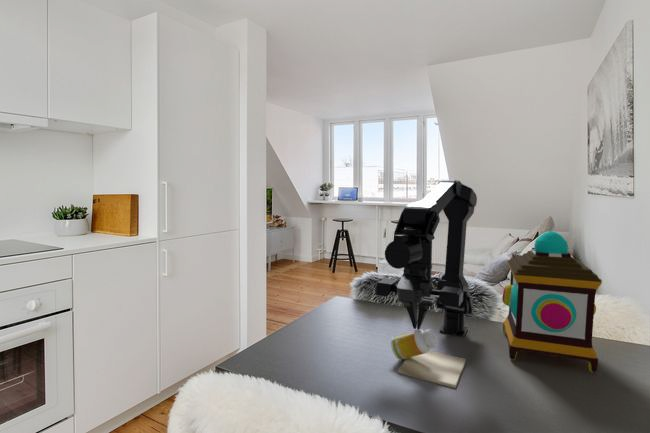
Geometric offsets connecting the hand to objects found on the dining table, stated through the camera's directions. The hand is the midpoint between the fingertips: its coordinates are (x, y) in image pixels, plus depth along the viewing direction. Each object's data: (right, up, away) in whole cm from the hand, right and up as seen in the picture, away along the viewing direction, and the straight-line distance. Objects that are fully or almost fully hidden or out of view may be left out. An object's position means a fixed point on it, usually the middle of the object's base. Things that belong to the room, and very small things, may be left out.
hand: (416, 328), depth 84 cm
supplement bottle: (-4, -6, +3) cm, 8 cm away
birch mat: (+3, -8, -1) cm, 9 cm away
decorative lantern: (+33, -8, +7) cm, 35 cm away
